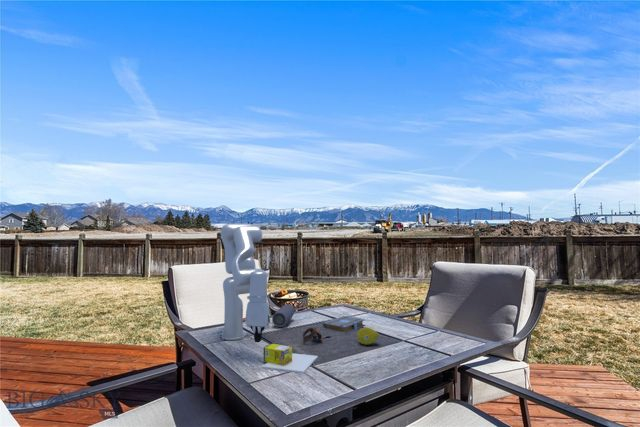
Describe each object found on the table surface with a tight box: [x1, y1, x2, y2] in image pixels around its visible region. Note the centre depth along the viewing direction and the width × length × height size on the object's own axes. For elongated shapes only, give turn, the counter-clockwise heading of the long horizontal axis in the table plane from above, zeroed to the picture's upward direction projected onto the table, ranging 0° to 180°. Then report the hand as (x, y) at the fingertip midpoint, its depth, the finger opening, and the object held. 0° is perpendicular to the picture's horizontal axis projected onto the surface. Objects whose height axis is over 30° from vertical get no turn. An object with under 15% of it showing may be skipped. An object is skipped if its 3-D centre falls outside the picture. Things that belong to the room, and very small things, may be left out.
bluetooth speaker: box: [271, 304, 295, 328], centre depth 210 cm, size 23×9×10 cm, turn 172°
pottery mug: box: [301, 326, 324, 344], centre depth 175 cm, size 12×10×8 cm
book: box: [321, 315, 366, 335], centre depth 201 cm, size 21×16×5 cm
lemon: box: [356, 327, 380, 346], centre depth 170 cm, size 11×8×8 cm
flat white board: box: [261, 352, 319, 374], centre depth 147 cm, size 18×18×1 cm
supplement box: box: [263, 343, 293, 365], centre depth 147 cm, size 6×6×11 cm
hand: (257, 341), depth 152 cm, fingers closed
